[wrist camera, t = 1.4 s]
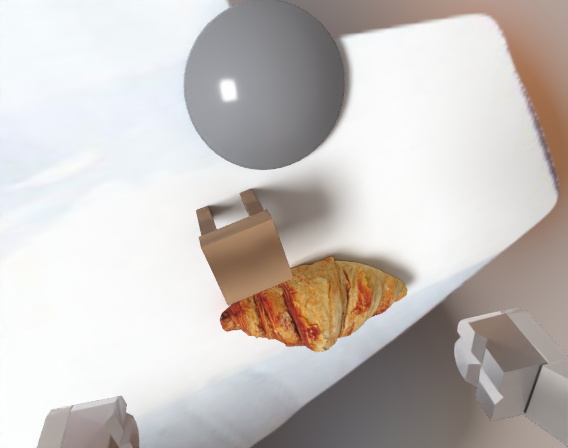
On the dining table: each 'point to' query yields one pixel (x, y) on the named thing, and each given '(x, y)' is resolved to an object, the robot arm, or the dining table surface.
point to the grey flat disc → (264, 84)
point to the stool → (244, 251)
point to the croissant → (316, 304)
